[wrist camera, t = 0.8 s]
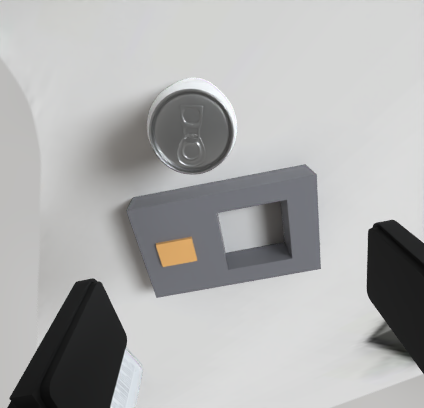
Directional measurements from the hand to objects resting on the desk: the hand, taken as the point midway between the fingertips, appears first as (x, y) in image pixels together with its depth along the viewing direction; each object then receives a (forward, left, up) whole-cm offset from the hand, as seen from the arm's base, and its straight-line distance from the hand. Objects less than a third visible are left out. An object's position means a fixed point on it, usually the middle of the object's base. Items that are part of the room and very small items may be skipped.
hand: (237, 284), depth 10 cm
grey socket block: (+11, 0, -23) cm, 26 cm away
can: (-3, -1, -24) cm, 24 cm away
